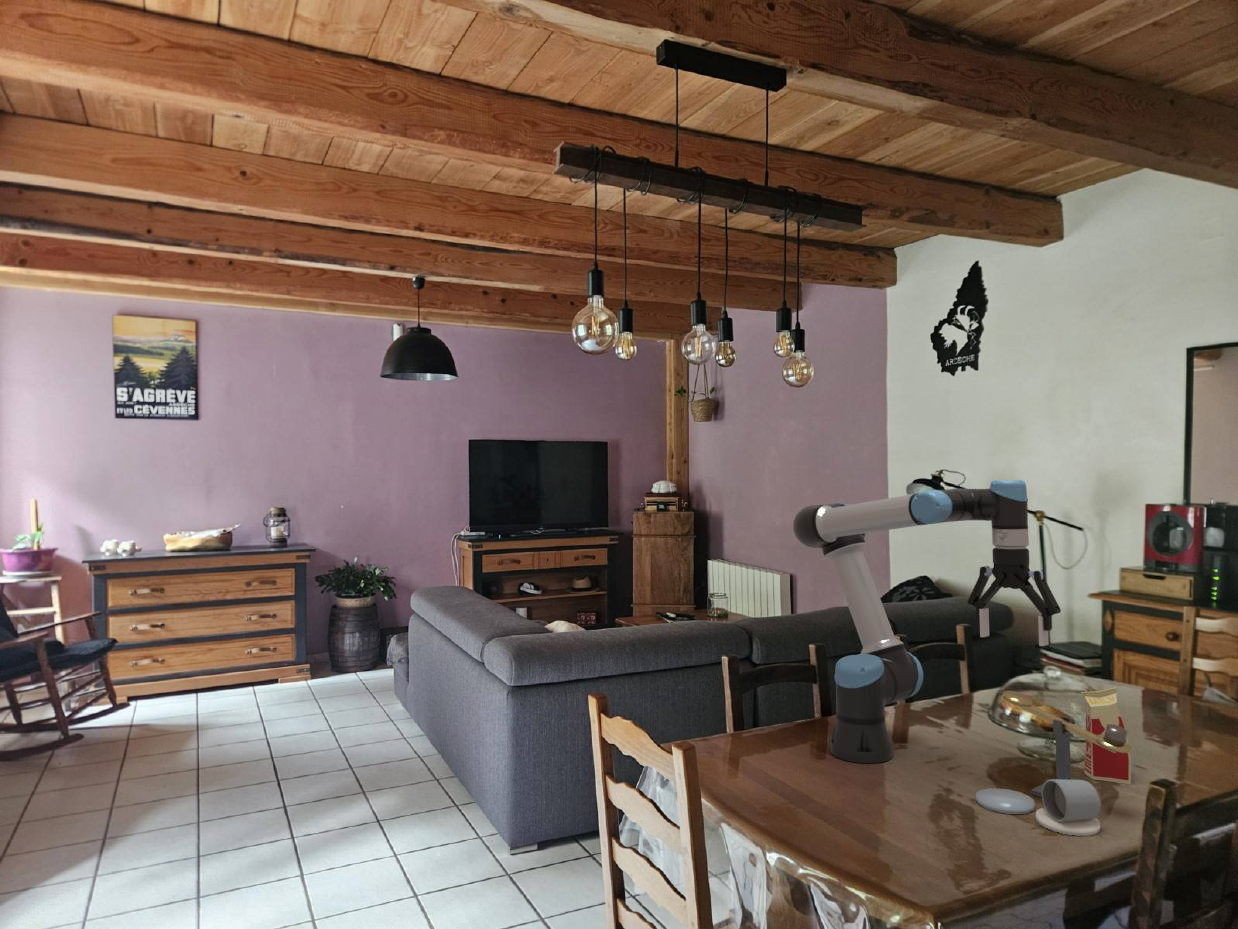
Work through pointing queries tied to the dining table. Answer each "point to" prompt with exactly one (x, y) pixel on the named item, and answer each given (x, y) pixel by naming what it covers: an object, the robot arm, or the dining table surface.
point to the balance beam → (1109, 740)
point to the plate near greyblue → (1005, 801)
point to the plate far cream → (1068, 825)
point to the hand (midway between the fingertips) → (1013, 640)
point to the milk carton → (1097, 718)
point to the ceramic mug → (1071, 800)
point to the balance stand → (1060, 753)
